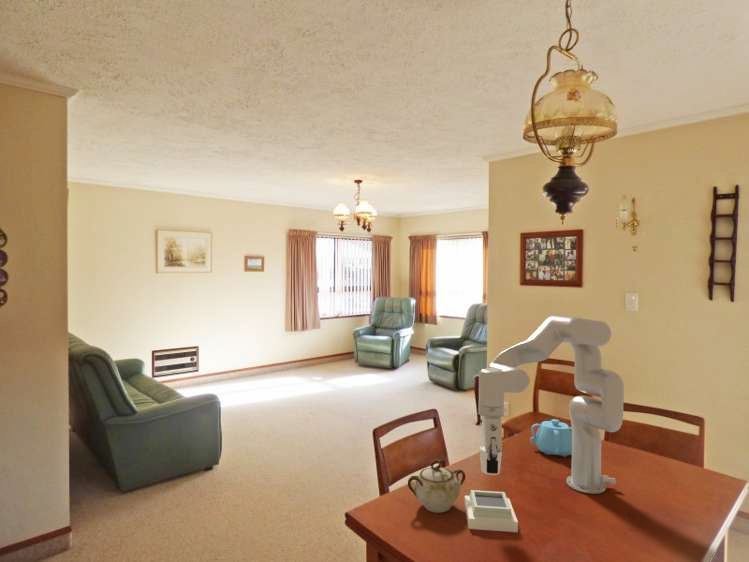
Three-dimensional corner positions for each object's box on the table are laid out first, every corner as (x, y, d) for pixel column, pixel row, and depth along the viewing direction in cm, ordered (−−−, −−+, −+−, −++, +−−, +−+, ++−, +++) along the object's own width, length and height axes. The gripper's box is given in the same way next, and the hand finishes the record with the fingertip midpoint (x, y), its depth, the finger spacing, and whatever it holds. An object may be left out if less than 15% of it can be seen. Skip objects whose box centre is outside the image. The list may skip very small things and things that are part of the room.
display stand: (508, 507, 144) (509, 489, 144) (517, 532, 130) (518, 512, 130) (464, 504, 145) (464, 487, 145) (468, 528, 131) (468, 509, 131)
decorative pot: (556, 443, 201) (556, 412, 201) (584, 456, 186) (585, 423, 185) (526, 447, 195) (526, 416, 195) (553, 461, 180) (553, 428, 180)
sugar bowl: (415, 522, 135) (415, 472, 135) (400, 498, 149) (401, 453, 149) (475, 514, 139) (475, 466, 139) (455, 491, 154) (455, 448, 154)
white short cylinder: (499, 466, 141) (500, 444, 140) (504, 476, 134) (504, 453, 134) (477, 465, 141) (477, 443, 141) (480, 475, 134) (480, 452, 134)
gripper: (508, 419, 128) (508, 481, 128) (499, 402, 145) (498, 457, 146) (482, 418, 129) (481, 479, 129) (475, 401, 146) (475, 456, 146)
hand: (490, 467), depth 137 cm, fingers closed on white short cylinder, 6 cm apart
